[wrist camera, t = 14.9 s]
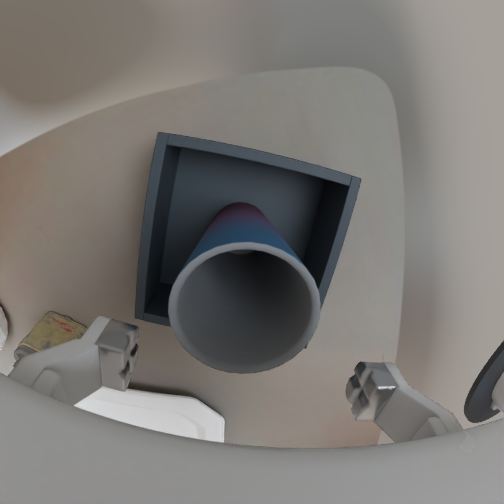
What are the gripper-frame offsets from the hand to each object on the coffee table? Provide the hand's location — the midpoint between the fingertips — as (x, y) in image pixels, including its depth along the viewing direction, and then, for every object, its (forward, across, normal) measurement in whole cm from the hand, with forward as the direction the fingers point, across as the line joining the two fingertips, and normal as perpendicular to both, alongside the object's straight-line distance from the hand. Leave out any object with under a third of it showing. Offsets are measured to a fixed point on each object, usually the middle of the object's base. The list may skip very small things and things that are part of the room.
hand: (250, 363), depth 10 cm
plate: (+19, +8, +34) cm, 40 cm away
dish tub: (+19, 0, 0) cm, 19 cm away
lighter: (+19, +18, +16) cm, 31 cm away
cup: (+18, 0, 0) cm, 18 cm away
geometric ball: (+19, +31, +18) cm, 41 cm away
